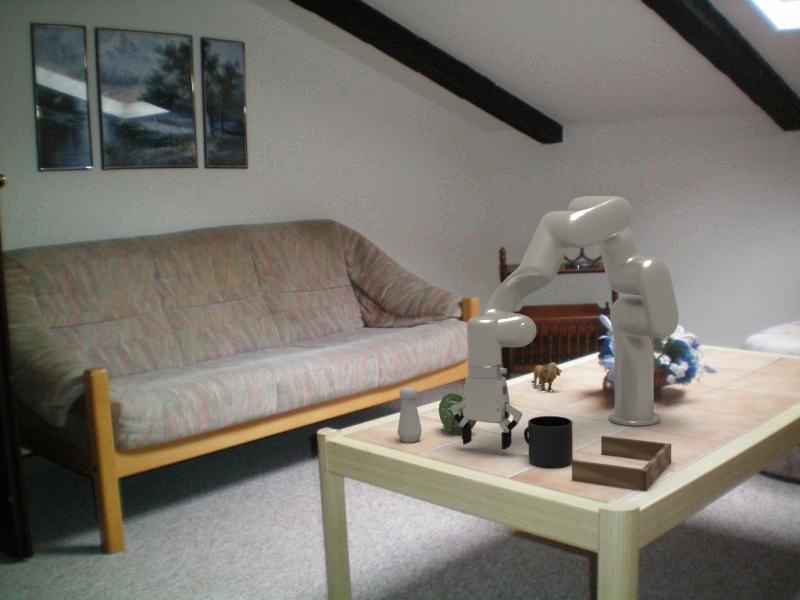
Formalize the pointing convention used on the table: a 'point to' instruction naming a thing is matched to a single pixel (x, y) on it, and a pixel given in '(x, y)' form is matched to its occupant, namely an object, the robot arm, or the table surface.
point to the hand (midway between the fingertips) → (486, 445)
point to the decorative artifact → (447, 414)
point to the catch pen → (621, 475)
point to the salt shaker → (409, 416)
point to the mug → (549, 441)
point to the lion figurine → (546, 374)
